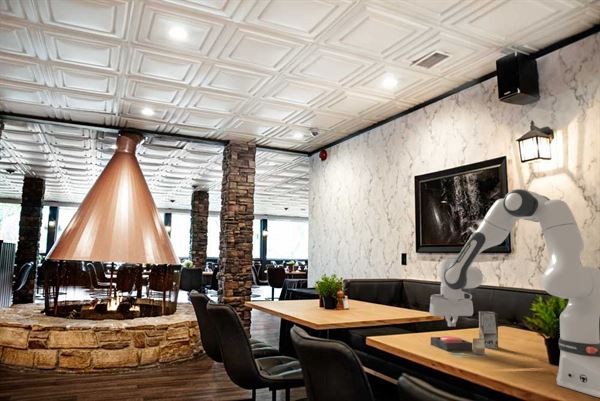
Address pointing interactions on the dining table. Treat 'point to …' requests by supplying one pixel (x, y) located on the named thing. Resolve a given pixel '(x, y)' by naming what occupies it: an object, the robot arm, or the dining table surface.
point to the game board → (454, 347)
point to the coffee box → (488, 328)
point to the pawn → (478, 347)
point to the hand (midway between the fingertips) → (451, 326)
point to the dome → (451, 339)
